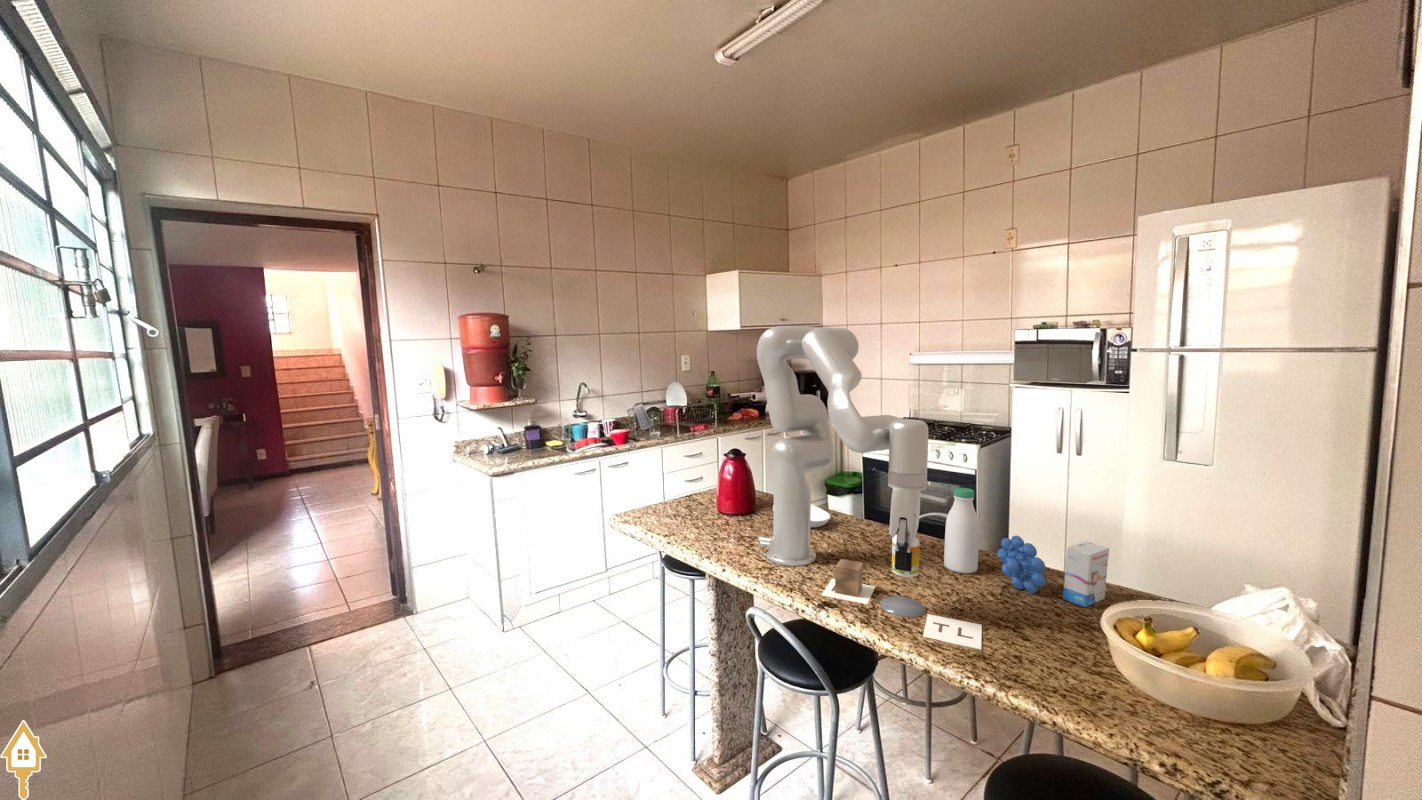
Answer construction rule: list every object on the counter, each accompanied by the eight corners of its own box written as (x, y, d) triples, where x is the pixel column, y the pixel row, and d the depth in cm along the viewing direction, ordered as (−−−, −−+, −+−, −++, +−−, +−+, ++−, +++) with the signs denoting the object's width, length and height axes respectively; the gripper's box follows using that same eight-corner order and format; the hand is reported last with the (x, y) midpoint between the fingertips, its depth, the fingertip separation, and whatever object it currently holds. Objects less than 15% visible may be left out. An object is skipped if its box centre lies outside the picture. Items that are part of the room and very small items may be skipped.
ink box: (1086, 608, 119) (1090, 554, 117) (1061, 599, 123) (1065, 546, 122) (1106, 599, 123) (1110, 546, 122) (1081, 590, 127) (1084, 539, 126)
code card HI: (820, 596, 124) (820, 594, 124) (832, 579, 133) (832, 578, 133) (867, 605, 120) (867, 604, 120) (875, 587, 129) (875, 586, 129)
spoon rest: (838, 528, 172) (838, 505, 171) (807, 534, 166) (807, 510, 165) (791, 508, 192) (791, 488, 192) (762, 513, 187) (762, 492, 186)
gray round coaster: (877, 612, 116) (877, 610, 116) (884, 595, 125) (884, 593, 125) (923, 621, 113) (923, 619, 113) (927, 603, 121) (927, 601, 121)
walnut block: (835, 592, 125) (835, 566, 125) (840, 584, 130) (840, 559, 129) (857, 597, 123) (858, 570, 123) (862, 588, 128) (862, 562, 127)
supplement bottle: (916, 568, 120) (917, 524, 119) (920, 578, 114) (922, 531, 114) (890, 566, 121) (891, 522, 120) (892, 576, 116) (894, 530, 115)
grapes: (984, 582, 132) (986, 532, 130) (1004, 577, 134) (1006, 528, 133) (1030, 603, 121) (1033, 548, 120) (1051, 597, 124) (1054, 544, 123)
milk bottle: (981, 575, 136) (985, 494, 134) (947, 572, 137) (950, 492, 135) (973, 563, 143) (976, 486, 141) (940, 561, 145) (944, 484, 143)
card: (922, 637, 107) (922, 636, 106) (927, 615, 115) (927, 613, 115) (981, 650, 102) (981, 648, 102) (981, 625, 111) (981, 624, 111)
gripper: (894, 470, 125) (892, 549, 127) (881, 486, 110) (879, 576, 112) (930, 473, 122) (928, 554, 124) (922, 490, 107) (919, 583, 108)
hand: (905, 564), depth 118 cm, fingers closed on supplement bottle, 5 cm apart
